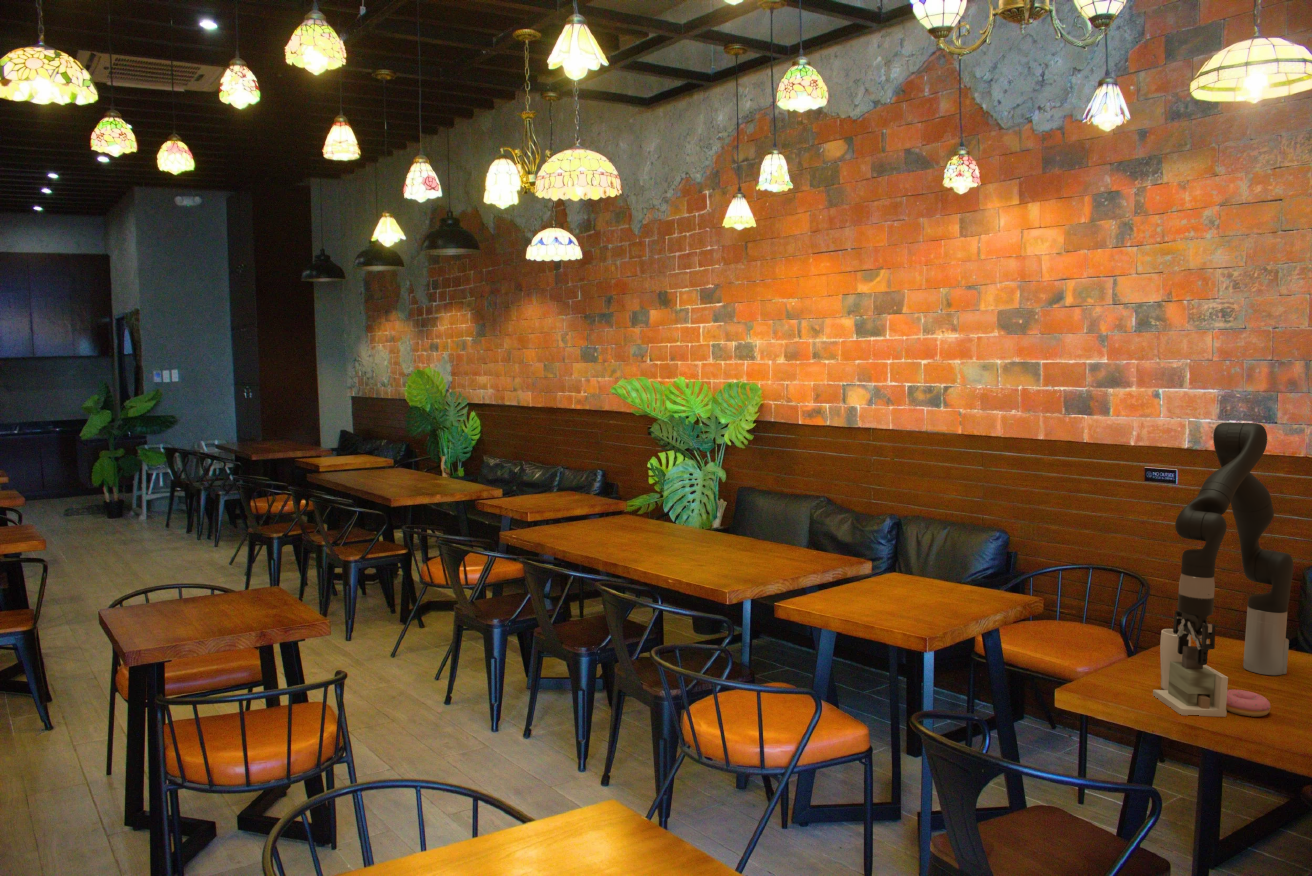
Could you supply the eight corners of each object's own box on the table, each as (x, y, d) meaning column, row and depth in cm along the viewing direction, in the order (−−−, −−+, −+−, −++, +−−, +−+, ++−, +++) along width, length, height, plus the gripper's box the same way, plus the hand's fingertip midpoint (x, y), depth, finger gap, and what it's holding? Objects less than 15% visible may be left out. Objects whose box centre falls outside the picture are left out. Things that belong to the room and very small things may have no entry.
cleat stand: (1195, 696, 240) (1197, 659, 239) (1226, 716, 226) (1228, 677, 226) (1152, 695, 240) (1155, 658, 240) (1181, 715, 227) (1183, 676, 226)
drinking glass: (1191, 695, 241) (1195, 637, 240) (1162, 693, 242) (1166, 634, 241) (1182, 686, 248) (1186, 629, 246) (1153, 684, 249) (1157, 627, 248)
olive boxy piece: (1192, 693, 238) (1195, 642, 237) (1212, 706, 229) (1216, 653, 228) (1168, 693, 238) (1171, 641, 237) (1187, 705, 229) (1190, 652, 228)
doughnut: (1221, 699, 239) (1222, 683, 239) (1273, 710, 232) (1274, 693, 232) (1213, 711, 231) (1214, 694, 230) (1266, 722, 224) (1268, 705, 223)
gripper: (1228, 601, 224) (1224, 668, 225) (1196, 587, 238) (1191, 650, 239) (1196, 600, 224) (1191, 668, 225) (1165, 586, 238) (1161, 650, 240)
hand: (1191, 659), depth 232 cm, fingers open, 8 cm apart
